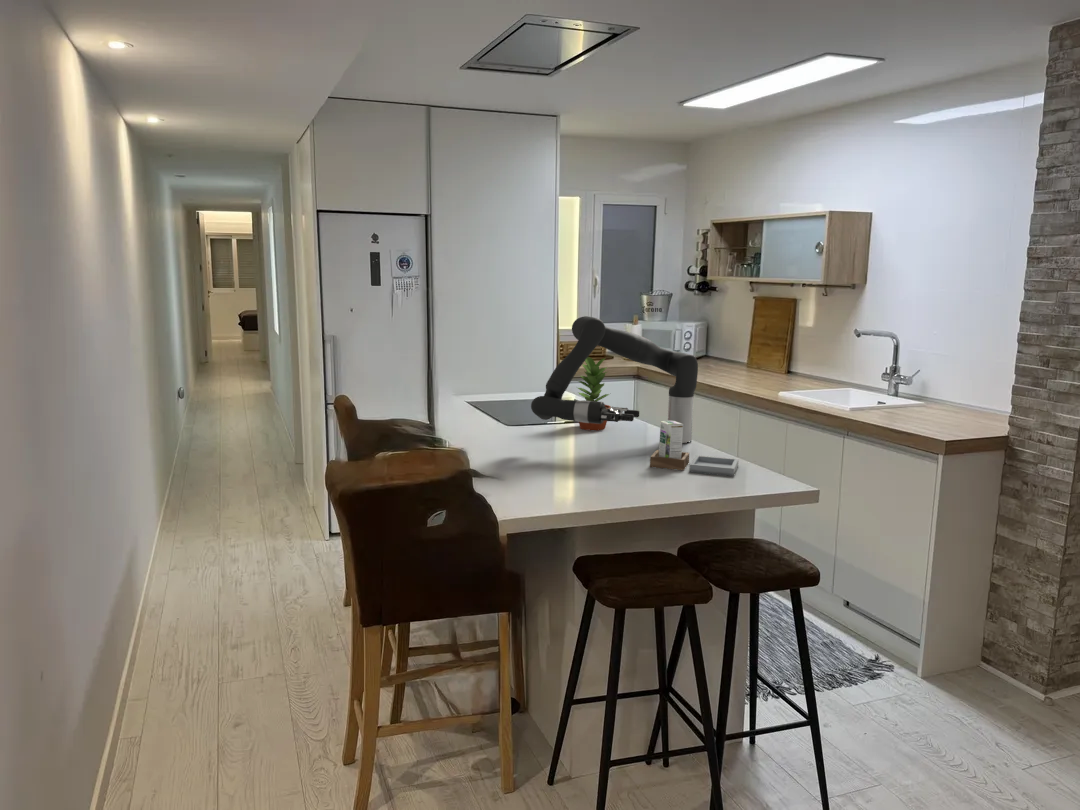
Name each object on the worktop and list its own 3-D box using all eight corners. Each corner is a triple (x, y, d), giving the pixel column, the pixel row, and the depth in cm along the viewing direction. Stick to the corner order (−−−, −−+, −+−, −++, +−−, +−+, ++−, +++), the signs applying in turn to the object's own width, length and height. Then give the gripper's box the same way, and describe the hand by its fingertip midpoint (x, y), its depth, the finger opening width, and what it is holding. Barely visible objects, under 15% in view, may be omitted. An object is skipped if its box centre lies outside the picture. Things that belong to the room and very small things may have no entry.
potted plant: (616, 426, 332) (618, 353, 327) (601, 433, 319) (604, 356, 313) (583, 422, 339) (585, 351, 333) (567, 429, 325) (569, 354, 320)
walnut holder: (656, 459, 276) (656, 449, 275) (688, 462, 272) (689, 452, 272) (649, 467, 266) (650, 456, 265) (683, 470, 262) (684, 459, 261)
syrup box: (657, 463, 271) (659, 420, 268) (673, 462, 273) (675, 420, 270) (666, 467, 265) (667, 424, 263) (681, 466, 267) (683, 423, 265)
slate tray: (695, 462, 273) (696, 455, 273) (738, 466, 269) (738, 458, 268) (689, 472, 260) (689, 464, 260) (733, 476, 256) (734, 468, 255)
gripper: (583, 404, 268) (632, 408, 263) (595, 398, 281) (641, 401, 276) (583, 426, 269) (631, 430, 264) (594, 419, 282) (640, 423, 277)
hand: (636, 416), depth 270 cm, fingers open, 8 cm apart
